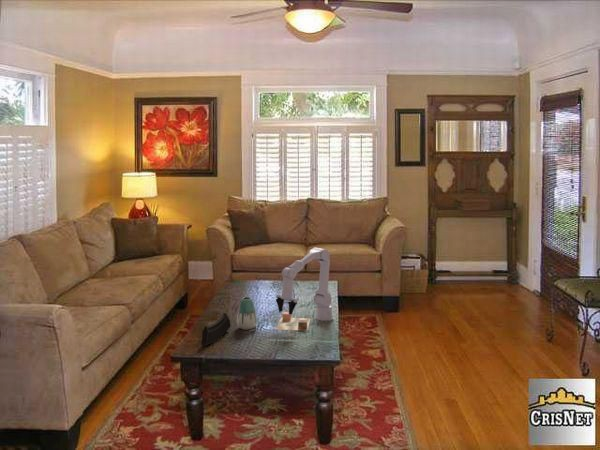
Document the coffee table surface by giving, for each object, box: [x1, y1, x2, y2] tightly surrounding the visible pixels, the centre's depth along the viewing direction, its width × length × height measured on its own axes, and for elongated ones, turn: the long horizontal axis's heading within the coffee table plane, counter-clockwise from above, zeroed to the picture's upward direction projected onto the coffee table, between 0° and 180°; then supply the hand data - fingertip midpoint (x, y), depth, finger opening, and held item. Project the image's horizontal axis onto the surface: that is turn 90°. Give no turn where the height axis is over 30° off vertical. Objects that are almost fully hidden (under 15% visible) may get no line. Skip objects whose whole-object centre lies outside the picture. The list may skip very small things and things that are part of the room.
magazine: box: [200, 312, 232, 346], centre depth 330 cm, size 17×3×30 cm
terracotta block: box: [282, 311, 292, 321], centre depth 363 cm, size 5×5×4 cm
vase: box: [236, 296, 258, 331], centre depth 349 cm, size 12×12×18 cm
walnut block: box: [298, 320, 307, 329], centre depth 346 cm, size 5×5×4 cm
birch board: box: [275, 316, 312, 331], centre depth 355 cm, size 18×24×1 cm
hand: (285, 312), depth 345 cm, fingers open, 7 cm apart
